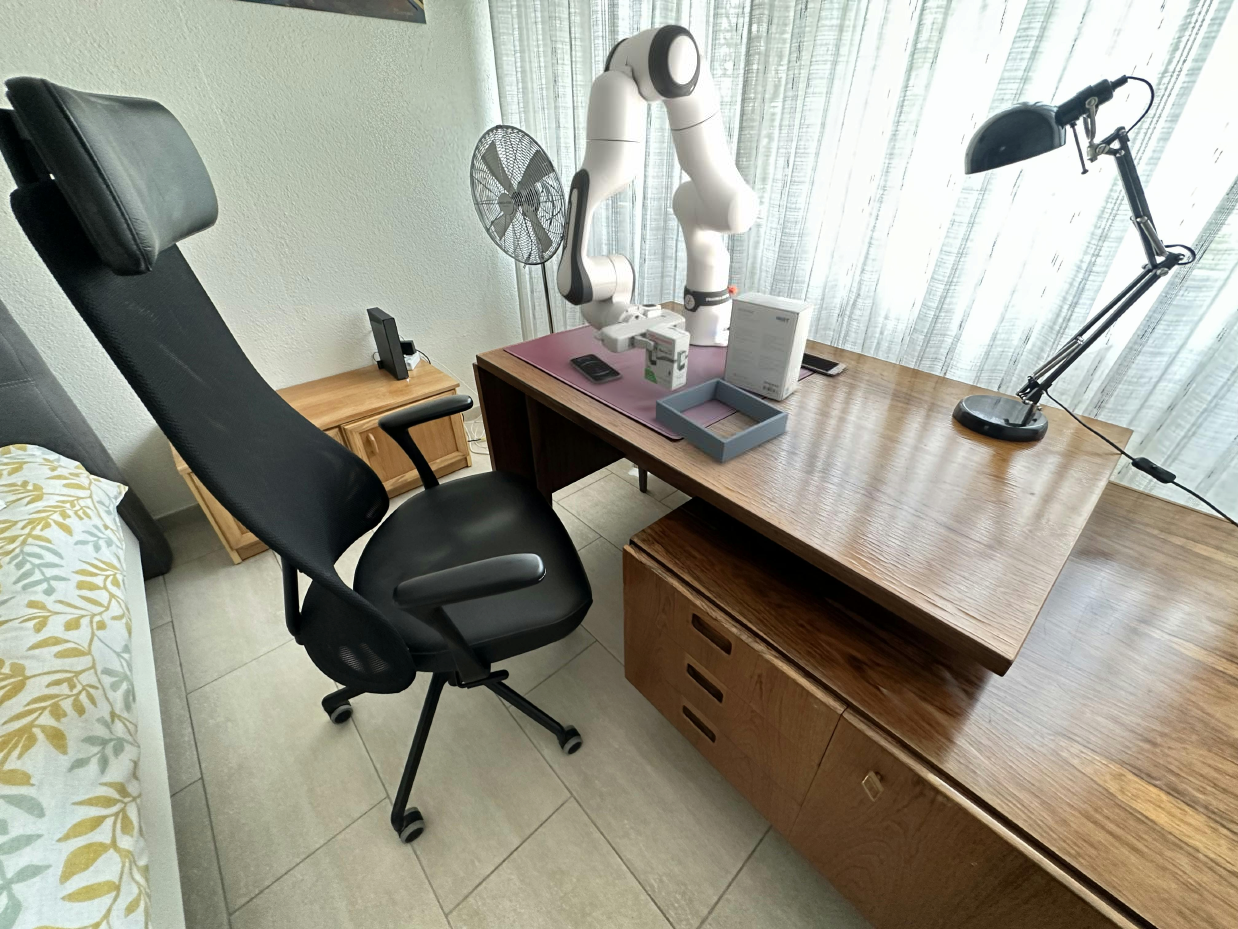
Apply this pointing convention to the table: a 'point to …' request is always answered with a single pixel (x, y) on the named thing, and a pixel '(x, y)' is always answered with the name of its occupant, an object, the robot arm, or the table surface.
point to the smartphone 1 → (595, 368)
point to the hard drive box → (766, 343)
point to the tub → (732, 396)
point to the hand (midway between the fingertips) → (666, 342)
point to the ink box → (667, 356)
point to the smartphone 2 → (821, 364)
